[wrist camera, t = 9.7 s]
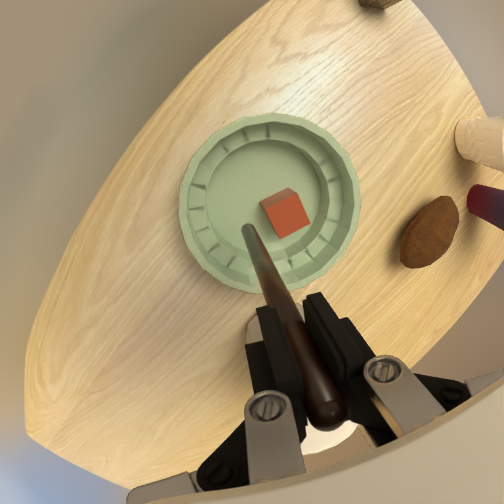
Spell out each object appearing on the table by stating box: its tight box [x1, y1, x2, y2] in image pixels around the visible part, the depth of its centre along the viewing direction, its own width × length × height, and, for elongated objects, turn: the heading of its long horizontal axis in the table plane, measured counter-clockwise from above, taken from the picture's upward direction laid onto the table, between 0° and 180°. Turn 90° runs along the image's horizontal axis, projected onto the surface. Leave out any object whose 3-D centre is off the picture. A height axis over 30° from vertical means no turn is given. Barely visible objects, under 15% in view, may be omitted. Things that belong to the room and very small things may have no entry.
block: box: [260, 187, 311, 239], centre depth 31 cm, size 4×4×4 cm
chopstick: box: [241, 223, 348, 432], centre depth 16 cm, size 1×1×20 cm
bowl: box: [178, 113, 361, 294], centre depth 30 cm, size 18×18×6 cm
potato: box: [400, 196, 459, 269], centre depth 33 cm, size 7×12×7 cm, turn 146°
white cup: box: [455, 116, 504, 172], centre depth 28 cm, size 8×8×10 cm
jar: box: [245, 303, 358, 455], centre depth 31 cm, size 10×10×18 cm
